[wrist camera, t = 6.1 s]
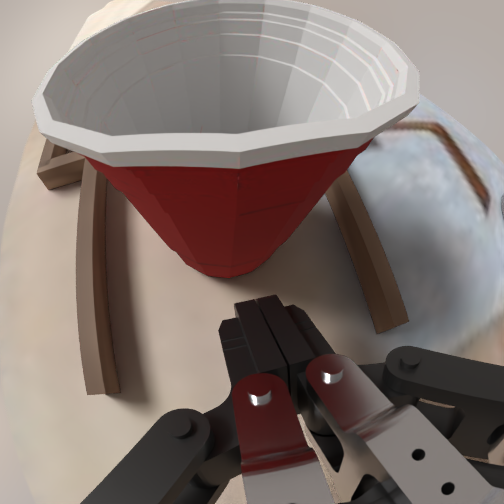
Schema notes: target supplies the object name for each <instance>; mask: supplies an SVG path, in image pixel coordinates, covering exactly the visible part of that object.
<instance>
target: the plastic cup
mask: <svg viewBox="0 0 504 504" xmlns="http://www.w3.org/2000/svg"><path fill="white" fill-rule="evenodd" d="M418 104H419V71H418V69H417V68H416V67H415V66H414V64H413V63H412V62H411V61H410V60H409V58H408V57H407V56H406V55H405V54H404V52H403V51H402V50H401V49H400V48H399V47H398V45H397V44H395V43H394V42H392V41H391V40H389V39H388V38H387V37H385V36H383V35H382V34H380V33H379V32H377V31H375V30H374V29H372V28H370V27H369V26H367V25H365V24H364V23H362V22H360V21H358V20H355V19H353V18H350V17H348V16H345V15H342V14H340V13H337V12H334V11H331V10H328V9H325V8H322V7H319V6H316V5H311V4H306V3H301V2H296V1H290V0H190V1H184V2H178V3H173V4H168V5H164V6H161V7H158V8H154V9H151V10H148V11H145V12H142V13H139V14H136V15H133V16H130V17H127V18H125V19H122V20H120V21H118V22H116V23H114V24H112V25H110V26H108V27H106V28H104V29H102V30H101V31H99V32H97V33H95V34H93V35H92V36H90V37H88V38H86V39H85V40H83V41H81V42H80V43H79V44H78V45H76V46H75V47H74V48H73V49H72V50H70V51H69V52H68V53H67V54H66V55H65V56H63V57H62V58H61V59H60V60H59V61H58V62H57V63H56V64H54V65H53V66H52V67H51V68H50V69H49V71H48V72H47V74H46V76H45V77H44V79H43V81H42V82H41V84H40V86H39V88H38V90H37V92H36V94H35V95H34V97H33V99H32V106H33V110H34V114H35V118H36V121H37V125H38V129H39V132H40V133H41V134H42V135H43V136H45V137H46V138H47V139H48V140H49V141H50V142H52V143H53V144H56V145H59V146H61V147H64V148H66V149H69V150H72V151H74V152H77V153H78V154H79V155H82V156H84V157H85V158H86V159H87V160H88V162H89V163H90V164H91V165H92V166H93V168H94V169H95V170H97V171H99V172H102V173H103V174H104V175H105V177H106V178H107V179H108V180H109V181H110V183H111V184H112V185H113V186H114V187H115V189H117V190H119V191H121V192H123V194H124V195H125V196H126V197H127V198H128V200H129V201H130V202H131V203H132V204H133V206H134V207H135V208H136V209H137V210H138V212H139V213H140V214H141V215H142V216H143V218H144V219H145V220H146V221H147V222H148V223H149V225H150V226H151V227H152V228H153V229H154V230H155V232H156V233H157V234H158V235H159V236H160V237H161V238H162V240H163V241H164V242H165V243H166V244H167V245H168V246H169V248H170V249H172V250H173V251H175V252H177V254H178V255H179V256H180V257H181V258H182V260H183V261H184V262H185V263H186V264H187V265H188V266H190V267H192V268H194V269H196V270H198V271H199V272H201V273H203V274H205V275H207V276H214V277H223V278H231V277H235V276H239V275H242V274H246V273H249V272H252V271H253V270H254V269H256V268H257V267H258V266H260V265H261V264H262V263H264V262H265V261H266V260H267V259H269V258H270V256H271V255H272V254H273V253H274V252H275V250H276V249H277V248H278V247H279V246H280V245H281V244H283V243H284V242H285V241H286V240H287V239H288V238H289V237H290V236H291V234H292V233H293V232H294V231H295V229H296V228H297V227H298V226H299V224H300V223H301V222H302V221H303V220H304V218H305V217H306V216H307V215H308V213H309V212H310V211H311V210H312V208H313V207H314V206H315V205H316V203H317V202H318V201H319V200H320V198H321V197H322V196H323V195H324V194H325V192H326V191H327V190H328V189H329V187H330V186H331V185H332V184H333V182H334V181H335V180H336V179H337V178H338V177H340V176H341V175H342V174H344V173H345V172H346V170H347V169H348V168H349V166H350V165H351V163H352V162H353V161H354V159H355V158H356V156H357V155H358V154H360V153H361V152H363V151H364V150H365V149H366V148H367V147H368V145H369V144H370V142H371V141H372V139H373V138H374V137H375V136H377V135H378V134H380V133H381V132H383V131H384V130H386V129H387V128H389V127H391V126H392V125H394V124H395V123H397V122H398V121H400V120H402V119H403V118H405V117H406V116H408V115H409V113H410V112H411V111H412V110H413V109H414V108H415V107H416V106H417V105H418Z"/></svg>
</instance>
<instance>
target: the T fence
mask: <svg viewBox="0 0 504 504" xmlns="http://www.w3.org/2000/svg"><path fill="white" fill-rule="evenodd" d="M66 151H67V149H66V148H64V147H61V146H59V145H56V144H53V143H52V142H50V141H49V140H48V139H46V143H45V146H44V149H43V152H42V156H41V159H40V163H39V167H38V170H37V175H38V176H39V178H40V179H41V180H42V182H43V183H44V185H45V186H46V187H47V189H48V190H50V189H53V188H57V187H60V186H63V185H67V184H70V183H73V182H77V181H81V180H82V183H81V192H80V201H79V211H78V224H77V243H76V299H77V318H78V331H79V342H80V351H81V359H82V366H83V373H84V379H85V385H86V391H87V395H95V394H110V393H121V392H120V387H119V382H118V376H117V371H116V364H115V358H114V351H113V344H112V337H111V328H110V319H109V309H108V296H107V281H106V257H105V214H106V190H107V178H106V177H105V175H104V174H103V173H102V172H99V171H97V170H95V169H94V168H93V166H92V165H91V164H90V163H89V162H88V160H87V159H86V158H85V157H84V156H82V155H79V154H78V153H77V152H71V153H67V154H66ZM325 194H326V196H327V199H328V201H329V203H330V206H331V208H332V211H333V213H334V215H335V218H336V220H337V223H338V225H339V228H340V230H341V233H342V235H343V238H344V240H345V243H346V246H347V248H348V251H349V253H350V256H351V259H352V261H353V264H354V267H355V270H356V272H357V275H358V278H359V281H360V284H361V287H362V290H363V293H364V295H365V298H366V301H367V305H368V308H369V311H370V314H371V317H372V320H373V323H374V327H375V330H376V333H377V334H378V333H381V332H384V331H386V330H389V329H392V328H394V327H397V326H399V325H402V324H404V323H407V322H409V319H408V316H407V312H406V309H405V306H404V303H403V300H402V298H401V295H400V292H399V289H398V286H397V283H396V281H395V278H394V275H393V273H392V270H391V267H390V265H389V262H388V260H387V257H386V255H385V252H384V250H383V247H382V245H381V242H380V240H379V238H378V235H377V233H376V231H375V228H374V226H373V224H372V221H371V219H370V217H369V215H368V212H367V210H366V208H365V206H364V204H363V202H362V200H361V197H360V195H359V193H358V191H357V189H356V187H355V185H354V183H353V181H352V179H351V177H350V175H349V173H348V171H347V170H346V172H345V173H344V174H342V175H341V176H340V177H338V178H337V179H336V180H335V181H334V182H333V184H332V185H331V186H330V187H329V189H328V190H327V191H326V192H325Z"/></svg>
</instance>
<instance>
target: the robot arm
mask: <svg viewBox="0 0 504 504" xmlns="http://www.w3.org/2000/svg"><path fill="white" fill-rule="evenodd" d="M501 206H502V212H503V217H504V194H503V196H502V200H501ZM234 309H235V315H236V318H232V319H227V320H223V321H222V323H221V325H220V328H219V330H218V331H219V335H220V340H221V344H222V348H223V353H224V357H225V361H226V366H227V370H228V374H229V378H230V382H231V392H230V394H229V396H228V398H227V399H226V400H225V401H224V402H223V403H222V404H221V405H219V406H218V407H216V408H214V409H212V410H210V411H208V412H206V413H204V414H202V413H200V412H198V411H196V410H193V409H176V410H173V411H170V412H168V413H166V414H164V415H163V416H162V417H161V418H159V419H158V421H157V422H156V423H155V424H154V425H153V426H152V427H151V428H150V430H149V431H148V432H147V433H146V434H145V435H144V436H143V437H142V438H141V440H140V441H139V442H138V443H137V444H136V445H135V446H134V447H133V448H132V450H131V451H130V452H129V453H128V454H127V455H126V456H125V457H124V458H123V459H122V460H121V461H120V463H119V464H118V465H117V466H116V467H115V468H114V469H113V470H112V471H111V472H110V473H109V474H108V475H107V476H106V477H105V478H104V480H103V481H102V482H101V483H100V484H99V485H98V486H97V487H96V488H95V489H94V490H93V491H92V492H91V493H90V494H89V495H88V496H87V497H86V498H85V499H84V500H83V501H82V502H81V503H80V504H215V503H216V501H217V500H218V498H219V497H220V495H221V494H222V492H223V491H224V489H225V488H226V486H227V485H228V483H229V481H230V479H232V478H234V477H236V476H238V475H240V474H241V473H242V478H243V483H244V489H245V495H246V500H247V504H335V502H334V500H333V497H332V494H331V492H330V489H329V486H328V484H327V481H326V478H325V476H324V473H323V470H322V468H321V465H320V462H319V460H318V457H317V455H316V453H315V451H314V449H313V448H310V447H309V446H308V444H307V442H306V439H305V437H304V434H303V431H302V428H301V425H300V422H299V420H298V417H297V414H300V413H301V415H302V417H303V419H304V421H305V433H306V435H307V437H308V438H309V440H310V442H311V443H312V445H313V447H314V448H315V450H316V452H317V453H318V455H319V457H320V458H321V460H322V462H323V463H324V465H325V467H326V468H327V470H328V472H329V473H330V475H331V477H332V479H333V482H334V487H335V490H336V493H337V495H338V497H339V499H340V500H341V502H342V503H338V504H504V366H500V365H494V364H489V363H484V362H479V361H475V360H470V359H465V358H461V357H456V356H452V355H447V354H443V353H438V352H434V351H430V350H426V349H422V348H417V347H413V346H402V347H398V348H396V349H394V350H392V351H391V352H390V353H389V354H388V356H387V358H386V362H385V363H378V364H369V365H356V364H355V363H354V362H353V361H352V360H351V359H350V358H348V357H346V356H343V355H339V354H335V352H334V351H333V350H332V348H331V347H330V345H329V344H328V343H327V341H326V340H325V339H324V337H323V336H322V334H321V333H320V332H319V330H318V329H317V328H316V326H315V325H314V323H313V322H312V321H311V320H310V318H309V317H308V315H307V314H306V312H305V311H304V310H302V309H300V308H298V307H297V306H295V305H289V306H285V307H284V306H283V304H282V303H281V301H280V300H279V298H278V296H277V295H271V296H267V297H262V298H258V299H255V300H254V299H253V300H249V301H244V302H239V303H235V304H234ZM420 398H422V399H426V400H430V401H434V402H438V403H443V404H447V405H451V406H456V407H454V408H445V407H440V406H436V405H432V404H428V403H424V402H420V401H419V399H420ZM462 455H464V456H469V457H475V458H481V459H488V460H489V461H488V462H487V463H484V462H479V461H474V460H470V459H465V458H464V457H463V456H462Z"/></svg>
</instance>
